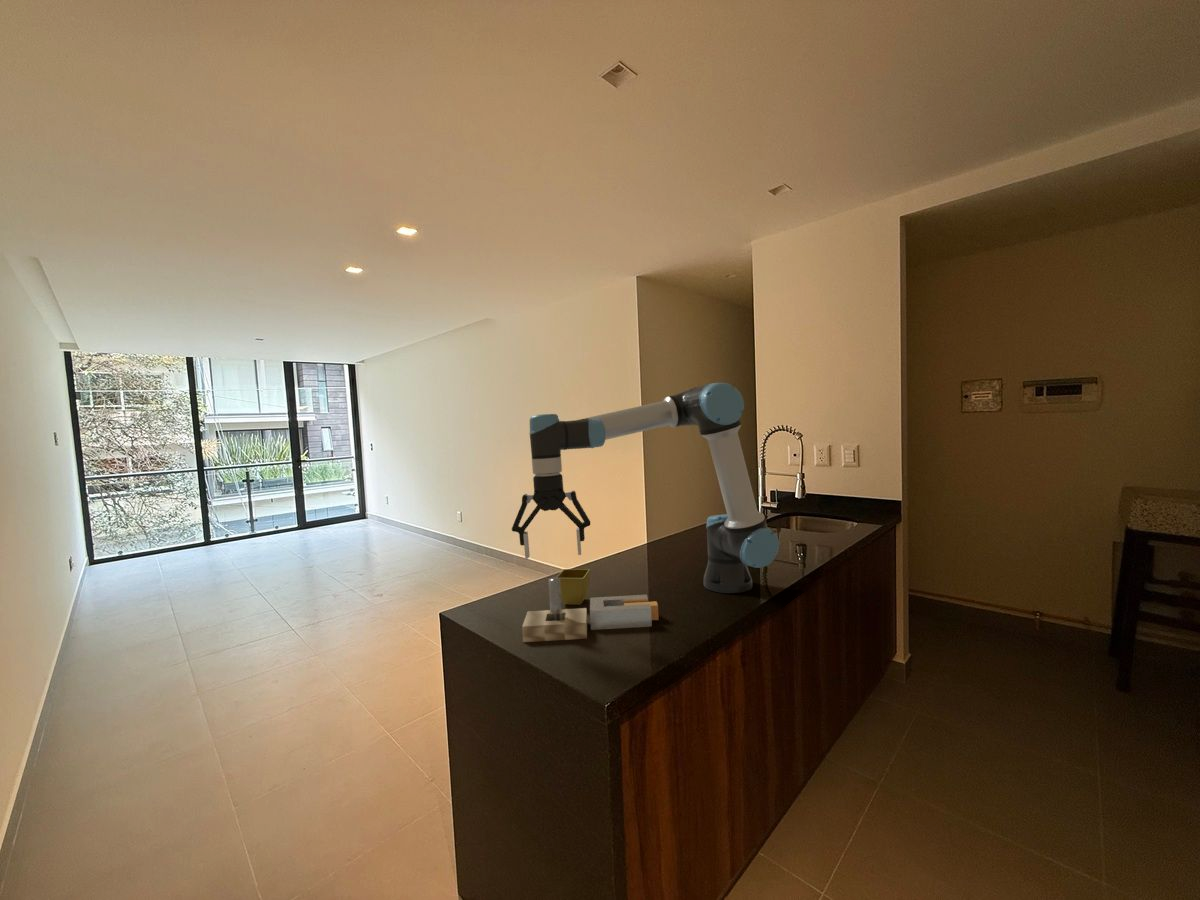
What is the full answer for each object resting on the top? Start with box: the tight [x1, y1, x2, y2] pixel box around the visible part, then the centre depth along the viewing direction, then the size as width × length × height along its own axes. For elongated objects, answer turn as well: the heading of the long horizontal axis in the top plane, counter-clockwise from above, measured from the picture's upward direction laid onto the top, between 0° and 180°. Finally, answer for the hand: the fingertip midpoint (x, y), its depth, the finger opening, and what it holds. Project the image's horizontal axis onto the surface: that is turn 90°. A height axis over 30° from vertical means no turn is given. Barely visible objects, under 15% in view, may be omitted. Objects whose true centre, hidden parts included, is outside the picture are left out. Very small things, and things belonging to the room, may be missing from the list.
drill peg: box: [548, 576, 562, 621], centre depth 124 cm, size 3×3×14 cm
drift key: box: [624, 600, 660, 621], centre depth 129 cm, size 9×3×4 cm, turn 91°
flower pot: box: [556, 568, 591, 606], centre depth 145 cm, size 9×9×9 cm
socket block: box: [589, 594, 653, 631], centre depth 129 cm, size 16×10×5 cm, turn 91°
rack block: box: [521, 607, 588, 643], centre depth 124 cm, size 16×10×4 cm, turn 91°
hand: (553, 555), depth 124 cm, fingers open, 13 cm apart
